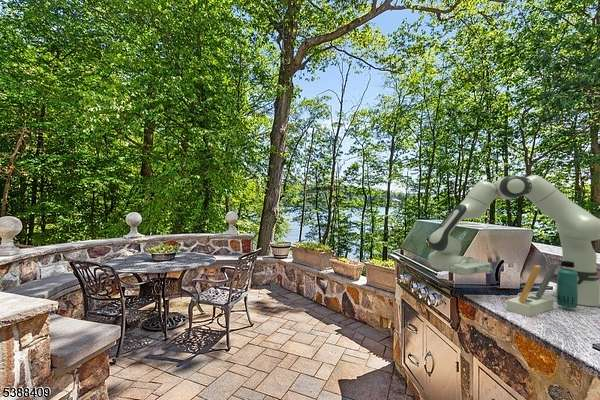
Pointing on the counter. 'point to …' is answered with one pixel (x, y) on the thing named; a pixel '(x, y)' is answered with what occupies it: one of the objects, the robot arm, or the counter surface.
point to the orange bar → (529, 283)
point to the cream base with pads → (529, 305)
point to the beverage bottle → (567, 286)
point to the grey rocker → (546, 279)
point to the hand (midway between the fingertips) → (491, 271)
